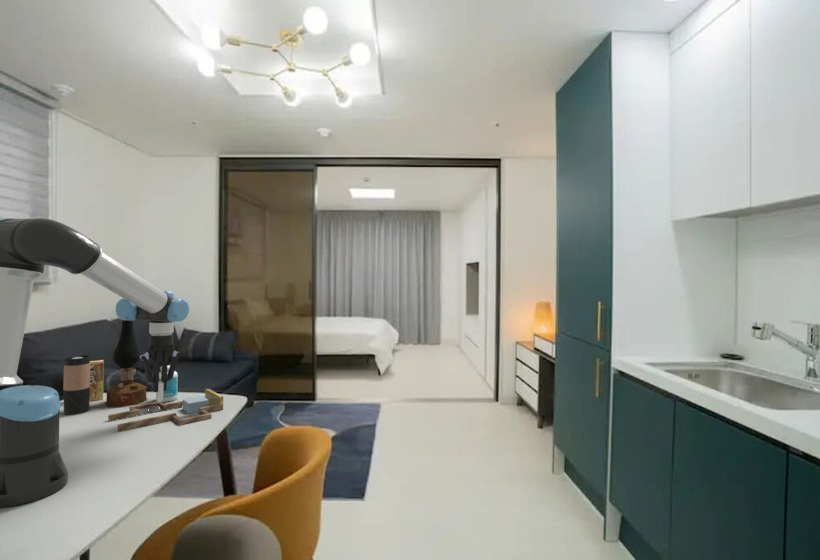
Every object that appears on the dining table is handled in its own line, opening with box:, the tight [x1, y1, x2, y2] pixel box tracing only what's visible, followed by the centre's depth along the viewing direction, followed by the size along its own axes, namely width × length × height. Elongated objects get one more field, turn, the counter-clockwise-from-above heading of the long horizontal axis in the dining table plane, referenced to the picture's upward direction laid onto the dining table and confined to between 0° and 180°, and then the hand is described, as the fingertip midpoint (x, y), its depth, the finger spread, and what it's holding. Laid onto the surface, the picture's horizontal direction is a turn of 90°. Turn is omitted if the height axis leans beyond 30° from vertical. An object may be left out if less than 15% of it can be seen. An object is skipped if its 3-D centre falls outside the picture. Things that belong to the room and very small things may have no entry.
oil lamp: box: [105, 320, 148, 408], centre depth 168 cm, size 14×15×40 cm
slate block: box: [182, 395, 210, 414], centre depth 159 cm, size 7×7×4 cm
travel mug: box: [62, 354, 91, 416], centre depth 154 cm, size 8×8×20 cm
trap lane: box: [107, 388, 224, 432], centre depth 152 cm, size 33×28×5 cm
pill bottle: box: [159, 365, 179, 403], centre depth 170 cm, size 8×7×14 cm
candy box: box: [89, 359, 105, 402], centre depth 168 cm, size 9×4×15 cm, turn 127°
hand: (159, 400), depth 150 cm, fingers closed
